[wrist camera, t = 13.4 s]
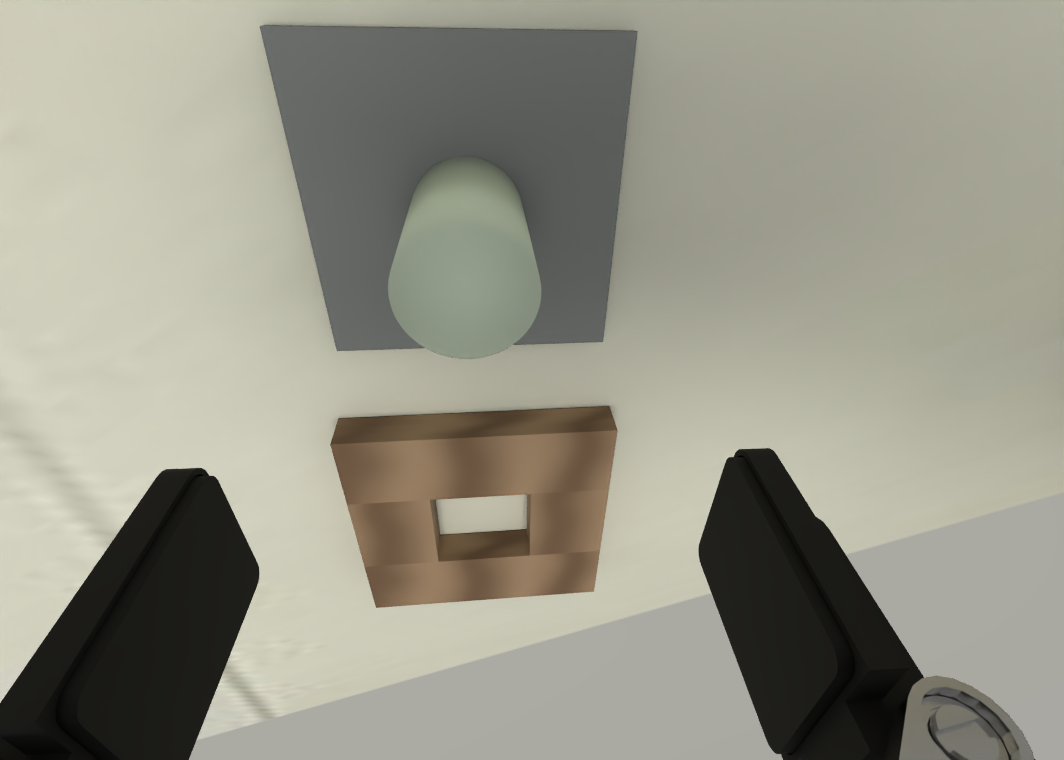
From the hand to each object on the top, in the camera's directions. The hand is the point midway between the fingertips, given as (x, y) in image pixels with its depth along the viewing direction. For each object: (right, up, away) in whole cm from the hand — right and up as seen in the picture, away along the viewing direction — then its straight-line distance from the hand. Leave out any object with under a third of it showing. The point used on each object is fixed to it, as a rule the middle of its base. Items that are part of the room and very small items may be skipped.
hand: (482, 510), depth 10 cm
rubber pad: (-2, +10, +14) cm, 18 cm away
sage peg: (-2, +10, +14) cm, 17 cm away
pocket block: (-2, -6, +26) cm, 27 cm away
